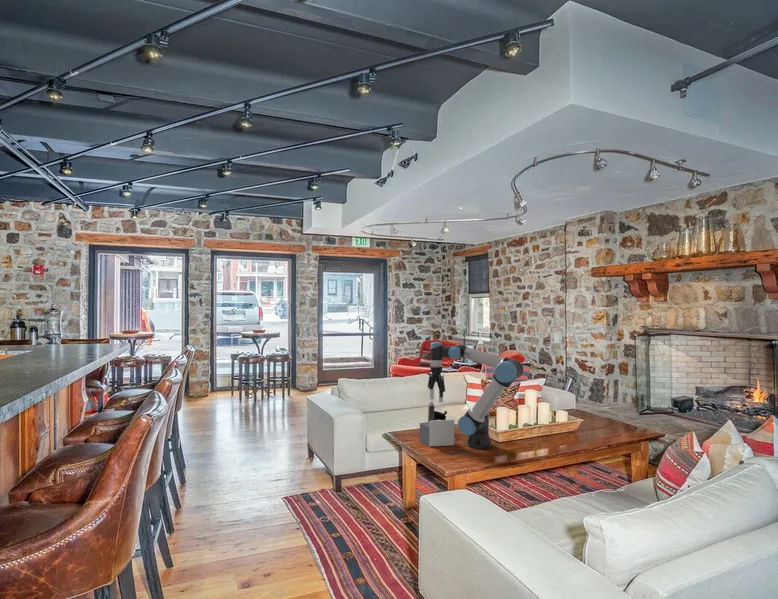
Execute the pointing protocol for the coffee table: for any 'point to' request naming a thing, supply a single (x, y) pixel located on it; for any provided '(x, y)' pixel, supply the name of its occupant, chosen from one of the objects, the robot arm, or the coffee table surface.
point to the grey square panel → (441, 432)
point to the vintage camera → (435, 413)
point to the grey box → (425, 433)
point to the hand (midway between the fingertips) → (436, 400)
